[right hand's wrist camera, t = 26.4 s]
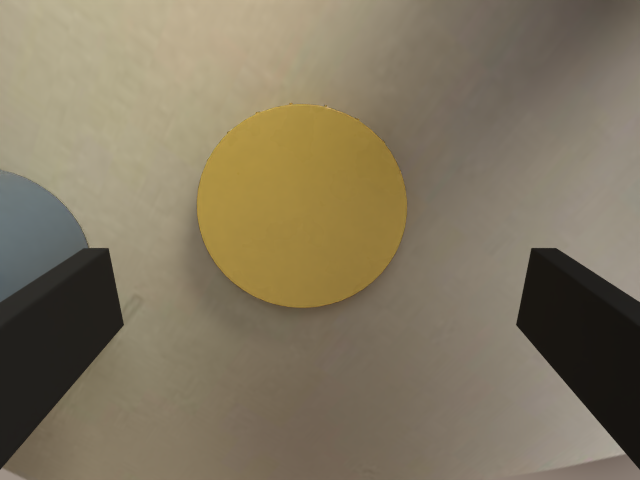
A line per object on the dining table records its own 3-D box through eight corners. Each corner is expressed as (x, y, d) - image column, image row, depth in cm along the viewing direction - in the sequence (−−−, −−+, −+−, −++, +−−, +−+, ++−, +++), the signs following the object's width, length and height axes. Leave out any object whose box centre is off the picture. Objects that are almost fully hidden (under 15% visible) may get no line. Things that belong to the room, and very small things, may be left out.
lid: (378, 78, 21) (384, 76, 20) (415, 269, 25) (423, 282, 23) (174, 134, 22) (163, 137, 20) (240, 312, 26) (235, 327, 24)
